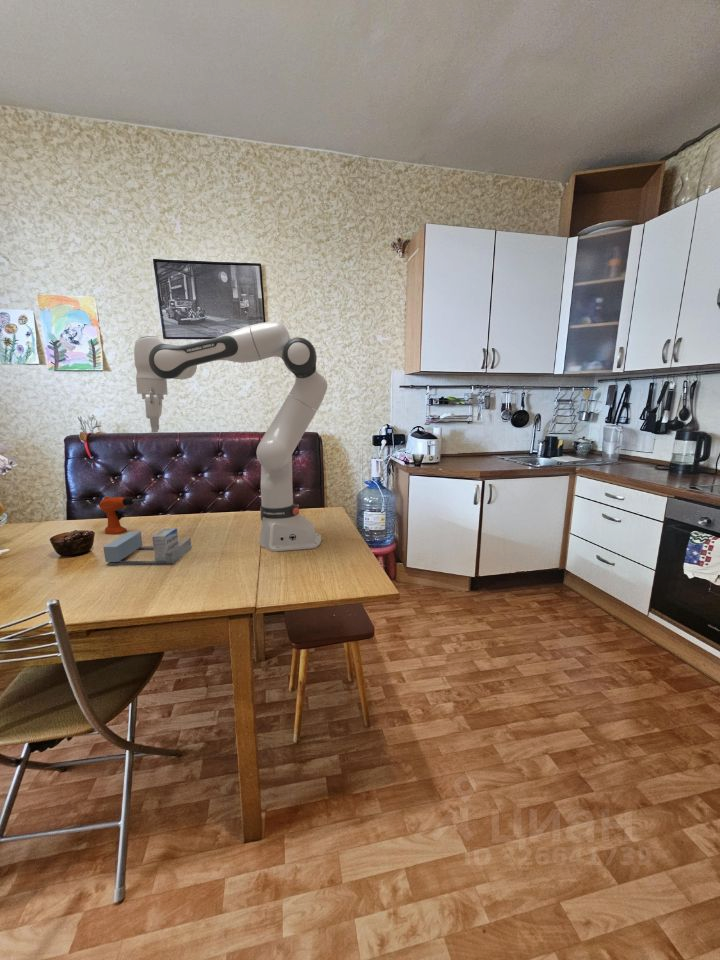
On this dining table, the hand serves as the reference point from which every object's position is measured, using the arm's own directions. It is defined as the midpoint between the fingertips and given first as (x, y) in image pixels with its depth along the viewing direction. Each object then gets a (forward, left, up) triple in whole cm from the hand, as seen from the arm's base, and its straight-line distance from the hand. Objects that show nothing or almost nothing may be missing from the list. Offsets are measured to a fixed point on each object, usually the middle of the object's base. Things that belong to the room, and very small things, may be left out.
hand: (155, 431), depth 130 cm
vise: (+1, +9, -41) cm, 42 cm away
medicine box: (-4, +9, -41) cm, 42 cm away
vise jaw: (+10, +9, -39) cm, 42 cm away
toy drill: (+23, -15, -41) cm, 49 cm away
